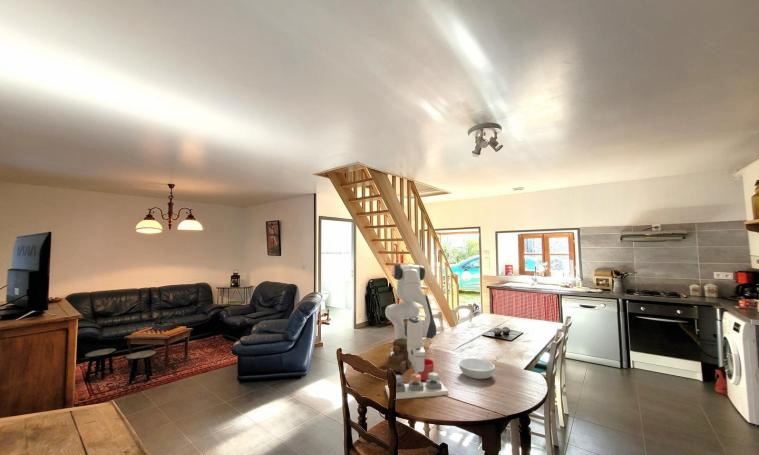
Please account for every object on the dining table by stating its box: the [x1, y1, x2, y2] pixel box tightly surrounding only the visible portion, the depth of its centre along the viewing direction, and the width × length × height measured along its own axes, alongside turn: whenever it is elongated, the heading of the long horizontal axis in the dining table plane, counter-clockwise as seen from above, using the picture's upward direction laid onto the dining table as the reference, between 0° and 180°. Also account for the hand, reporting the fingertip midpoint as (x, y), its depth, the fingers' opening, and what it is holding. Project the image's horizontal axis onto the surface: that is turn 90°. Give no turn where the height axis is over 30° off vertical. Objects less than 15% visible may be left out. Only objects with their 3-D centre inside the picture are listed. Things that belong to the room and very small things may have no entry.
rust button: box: [410, 373, 422, 385], centre depth 166 cm, size 6×6×4 cm
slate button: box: [395, 374, 404, 386], centre depth 165 cm, size 6×6×4 cm
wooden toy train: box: [386, 339, 412, 375], centre depth 199 cm, size 20×11×17 cm, turn 152°
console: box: [384, 379, 449, 400], centre depth 166 cm, size 12×32×4 cm, turn 98°
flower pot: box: [418, 358, 435, 382], centre depth 183 cm, size 11×11×10 cm
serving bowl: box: [458, 358, 496, 380], centre depth 186 cm, size 21×21×7 cm
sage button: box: [428, 371, 439, 383], centre depth 168 cm, size 6×6×4 cm
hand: (415, 373), depth 166 cm, fingers closed
